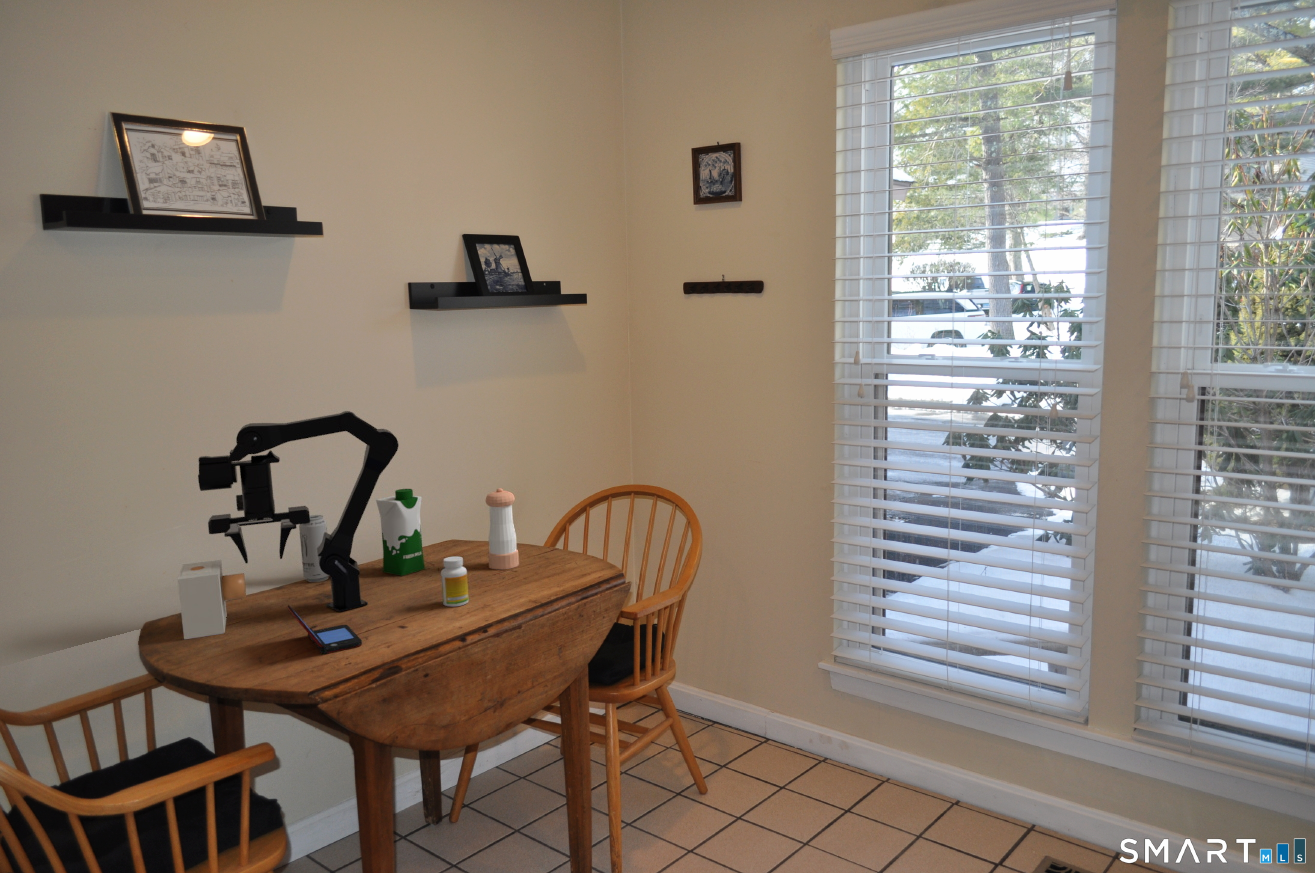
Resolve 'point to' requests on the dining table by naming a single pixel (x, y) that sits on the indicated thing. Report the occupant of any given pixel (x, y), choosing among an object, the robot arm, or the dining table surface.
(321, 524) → the energy drink can
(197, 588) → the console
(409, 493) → the milk carton
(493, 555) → the pepper shaker
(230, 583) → the button
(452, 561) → the supplement bottle
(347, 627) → the handheld game console
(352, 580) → the robot arm
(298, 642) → the dining table surface
